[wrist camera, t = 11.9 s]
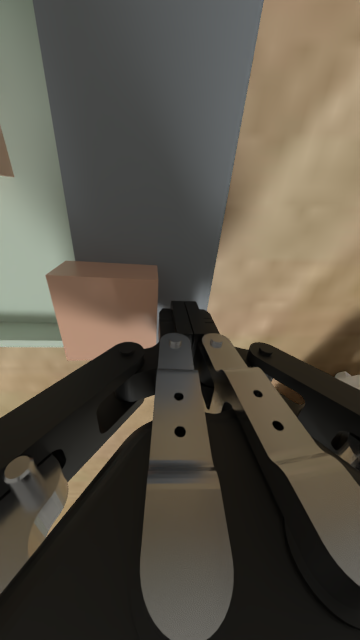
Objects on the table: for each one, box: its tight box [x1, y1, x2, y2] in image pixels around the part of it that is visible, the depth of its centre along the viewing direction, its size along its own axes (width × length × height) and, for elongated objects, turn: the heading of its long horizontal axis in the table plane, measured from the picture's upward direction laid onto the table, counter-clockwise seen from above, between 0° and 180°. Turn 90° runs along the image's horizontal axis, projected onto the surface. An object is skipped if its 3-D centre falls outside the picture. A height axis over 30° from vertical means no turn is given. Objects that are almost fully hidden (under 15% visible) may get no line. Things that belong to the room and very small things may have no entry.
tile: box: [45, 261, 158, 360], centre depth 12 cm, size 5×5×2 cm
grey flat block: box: [33, 0, 264, 344], centre depth 12 cm, size 18×8×4 cm, turn 174°
